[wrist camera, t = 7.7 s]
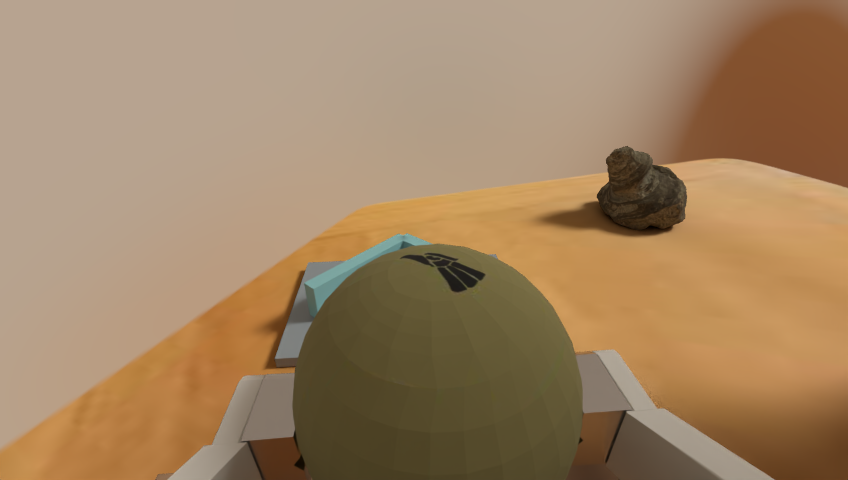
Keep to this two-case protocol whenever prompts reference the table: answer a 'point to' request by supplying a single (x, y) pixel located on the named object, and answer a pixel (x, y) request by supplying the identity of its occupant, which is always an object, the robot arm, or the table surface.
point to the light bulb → (437, 374)
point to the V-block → (327, 292)
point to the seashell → (641, 191)
